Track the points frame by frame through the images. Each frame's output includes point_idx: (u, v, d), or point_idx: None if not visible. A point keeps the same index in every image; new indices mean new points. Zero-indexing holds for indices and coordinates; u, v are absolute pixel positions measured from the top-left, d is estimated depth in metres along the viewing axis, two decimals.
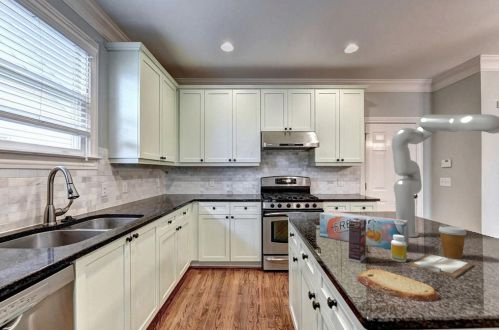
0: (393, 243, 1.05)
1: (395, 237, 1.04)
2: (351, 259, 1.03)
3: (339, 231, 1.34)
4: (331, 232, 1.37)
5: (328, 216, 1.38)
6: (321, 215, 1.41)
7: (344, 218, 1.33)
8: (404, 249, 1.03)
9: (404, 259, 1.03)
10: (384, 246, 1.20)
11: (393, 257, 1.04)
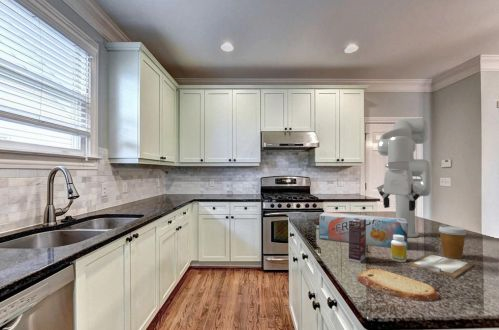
0: (393, 243, 1.05)
1: (395, 237, 1.04)
2: (351, 259, 1.03)
3: (341, 233, 1.31)
4: (332, 234, 1.33)
5: (329, 217, 1.34)
6: (321, 217, 1.36)
7: (347, 219, 1.31)
8: (404, 249, 1.03)
9: (404, 259, 1.03)
10: (389, 245, 1.22)
11: (393, 257, 1.04)
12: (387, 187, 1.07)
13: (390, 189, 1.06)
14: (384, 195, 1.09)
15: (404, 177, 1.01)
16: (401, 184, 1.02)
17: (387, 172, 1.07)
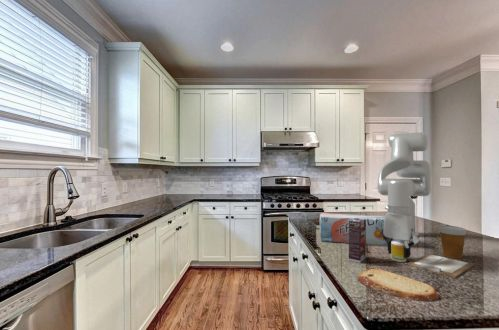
0: (393, 243, 1.05)
1: None
2: (351, 259, 1.03)
3: (345, 234, 1.29)
4: (336, 236, 1.30)
5: (332, 219, 1.30)
6: (324, 218, 1.31)
7: (350, 220, 1.29)
8: None
9: (404, 259, 1.03)
10: None
11: (393, 257, 1.04)
12: (387, 230, 1.06)
13: (390, 233, 1.05)
14: (388, 240, 1.07)
15: (404, 222, 1.01)
16: (401, 229, 1.02)
17: (387, 215, 1.07)
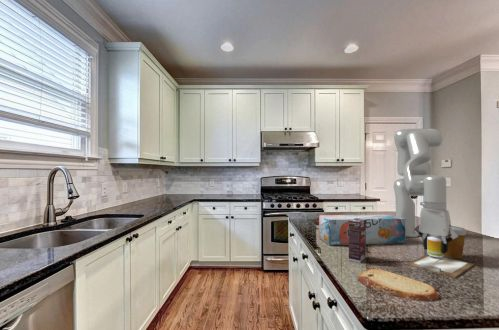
0: (430, 239, 1.05)
1: None
2: (351, 259, 1.03)
3: None
4: (344, 238, 1.25)
5: (340, 221, 1.25)
6: (332, 221, 1.24)
7: None
8: (441, 244, 1.03)
9: (441, 254, 1.03)
10: (392, 241, 1.29)
11: (430, 252, 1.05)
12: (423, 226, 1.07)
13: (426, 228, 1.06)
14: (423, 236, 1.08)
15: (442, 218, 1.02)
16: (439, 225, 1.03)
17: (423, 211, 1.07)
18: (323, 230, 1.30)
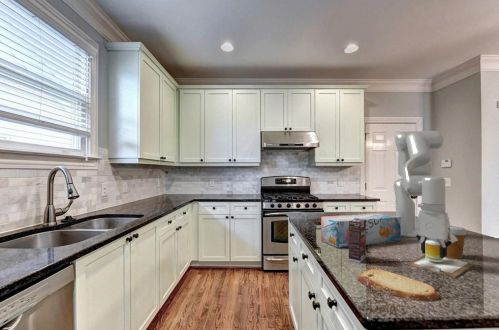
0: (428, 242, 1.00)
1: None
2: (351, 259, 1.03)
3: None
4: None
5: (347, 222, 1.22)
6: (340, 223, 1.21)
7: None
8: None
9: (440, 259, 0.98)
10: (390, 240, 1.32)
11: (428, 257, 1.00)
12: (421, 229, 1.02)
13: (424, 232, 1.01)
14: (421, 239, 1.03)
15: (441, 221, 0.97)
16: (437, 228, 0.98)
17: (421, 213, 1.02)
18: (329, 232, 1.25)
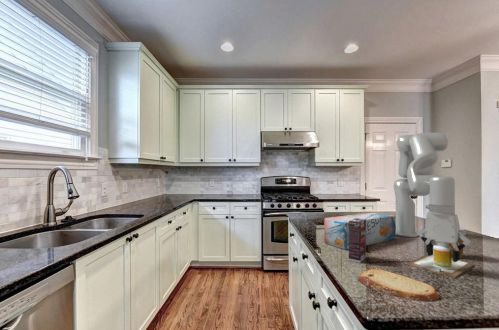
0: (436, 248, 0.95)
1: (438, 242, 0.95)
2: (351, 259, 1.03)
3: None
4: None
5: None
6: (348, 224, 1.18)
7: None
8: (449, 255, 0.93)
9: (449, 266, 0.93)
10: (388, 238, 1.34)
11: (436, 264, 0.95)
12: (429, 232, 0.97)
13: (433, 234, 0.96)
14: (427, 241, 0.98)
15: (451, 223, 0.91)
16: (446, 231, 0.92)
17: (429, 215, 0.97)
18: (335, 234, 1.22)
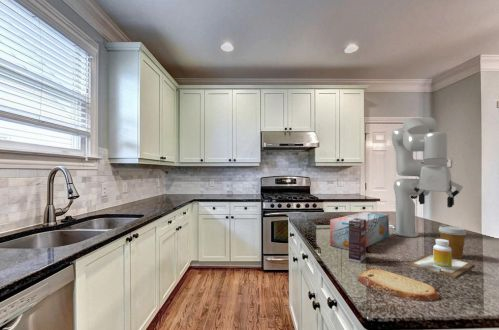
0: (436, 248, 0.95)
1: (439, 242, 0.95)
2: (351, 259, 1.03)
3: (368, 237, 1.22)
4: None
5: None
6: None
7: (369, 221, 1.25)
8: (449, 255, 0.93)
9: (449, 266, 0.93)
10: (384, 237, 1.37)
11: (436, 264, 0.95)
12: (423, 183, 1.06)
13: (427, 185, 1.05)
14: (419, 191, 1.08)
15: (443, 173, 1.00)
16: (439, 181, 1.01)
17: (423, 168, 1.06)
18: (343, 236, 1.19)
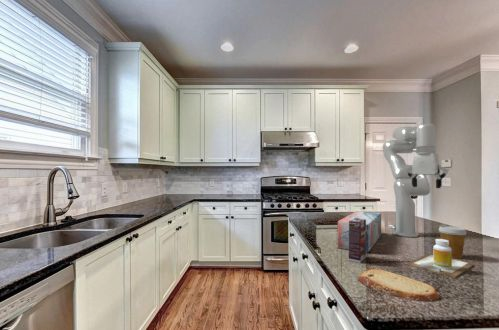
0: (436, 248, 0.95)
1: (439, 242, 0.95)
2: (351, 259, 1.03)
3: (373, 238, 1.22)
4: (371, 242, 1.19)
5: (370, 224, 1.18)
6: (368, 226, 1.14)
7: (373, 221, 1.25)
8: (449, 255, 0.93)
9: (449, 266, 0.93)
10: (379, 235, 1.40)
11: (436, 264, 0.95)
12: (416, 168, 1.23)
13: (418, 170, 1.21)
14: (412, 176, 1.25)
15: (432, 159, 1.17)
16: (429, 165, 1.18)
17: (415, 155, 1.23)
18: None
